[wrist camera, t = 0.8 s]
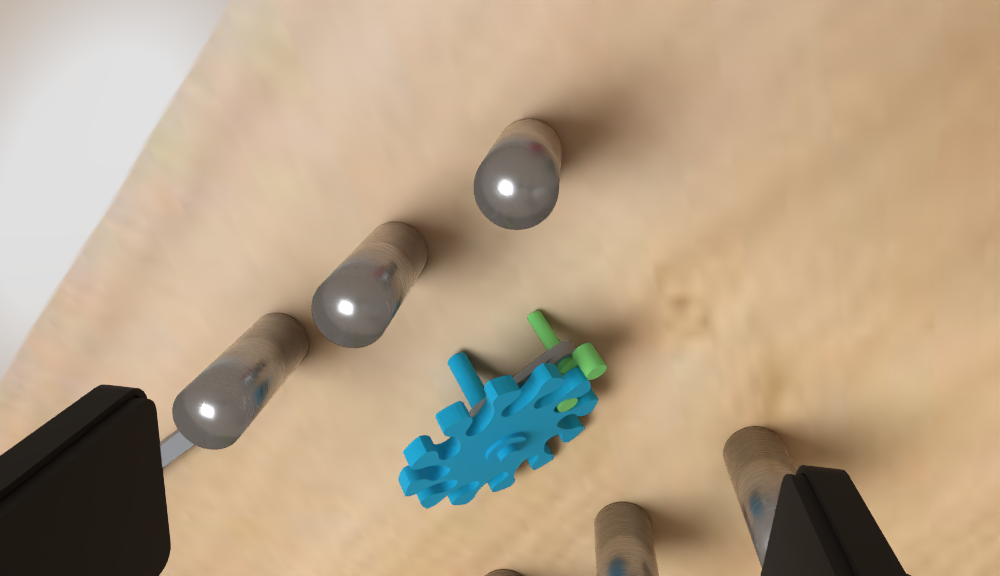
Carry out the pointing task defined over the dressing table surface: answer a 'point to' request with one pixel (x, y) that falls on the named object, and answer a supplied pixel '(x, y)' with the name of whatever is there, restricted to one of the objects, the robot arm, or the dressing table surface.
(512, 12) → the dressing table surface
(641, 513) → the spacer posts
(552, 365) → the gear
